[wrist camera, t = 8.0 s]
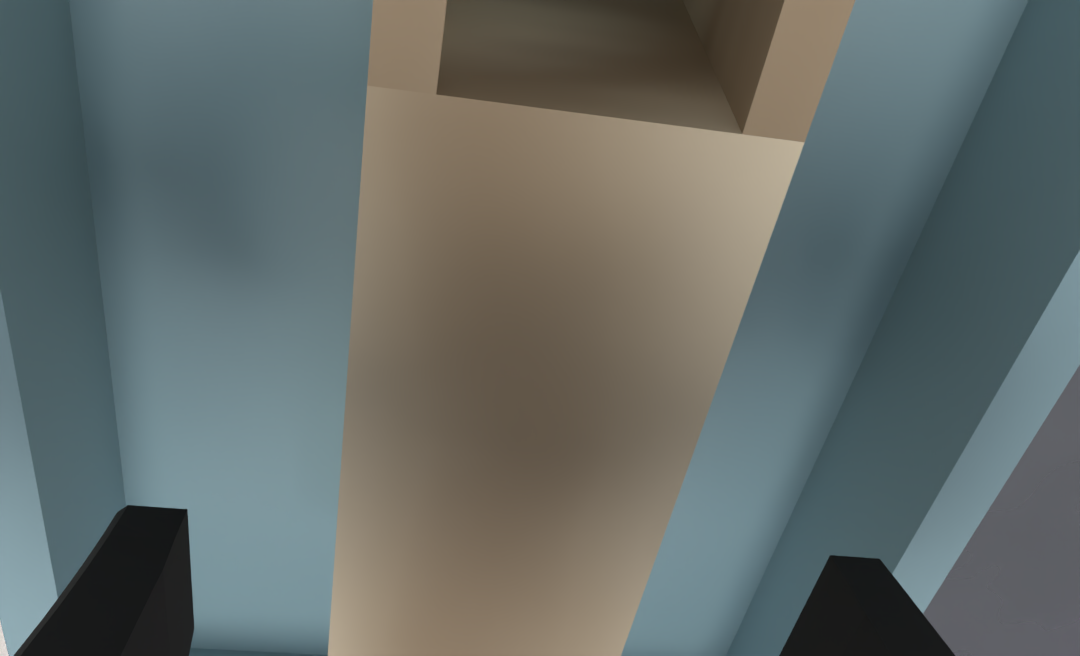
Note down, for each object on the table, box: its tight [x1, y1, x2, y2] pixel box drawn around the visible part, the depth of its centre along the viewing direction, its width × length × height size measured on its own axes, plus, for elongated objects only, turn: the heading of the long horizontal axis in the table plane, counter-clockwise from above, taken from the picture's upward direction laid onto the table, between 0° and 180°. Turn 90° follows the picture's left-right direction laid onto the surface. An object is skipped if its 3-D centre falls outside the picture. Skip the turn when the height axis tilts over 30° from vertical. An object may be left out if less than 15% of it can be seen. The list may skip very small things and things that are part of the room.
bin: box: [0, 0, 1080, 656], centre depth 13 cm, size 21×13×4 cm, turn 171°
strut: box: [328, 0, 855, 656], centre depth 12 cm, size 4×13×4 cm, turn 170°
